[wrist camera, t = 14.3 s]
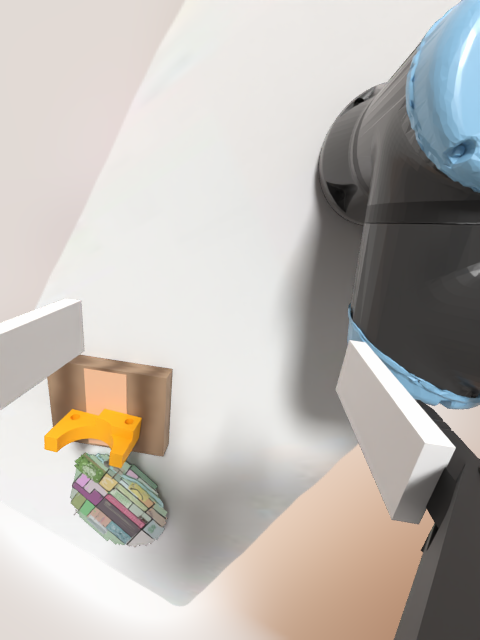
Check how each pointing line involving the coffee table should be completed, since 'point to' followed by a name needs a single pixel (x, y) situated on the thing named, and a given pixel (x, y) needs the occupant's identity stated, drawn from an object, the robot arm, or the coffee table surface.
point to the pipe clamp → (97, 432)
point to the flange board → (115, 396)
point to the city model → (117, 501)
